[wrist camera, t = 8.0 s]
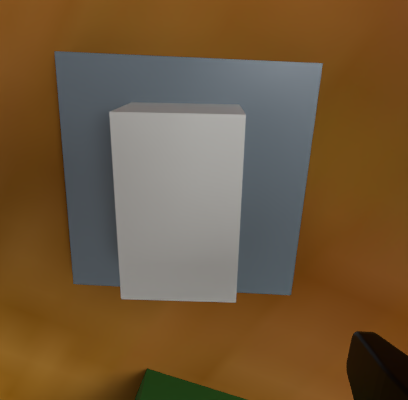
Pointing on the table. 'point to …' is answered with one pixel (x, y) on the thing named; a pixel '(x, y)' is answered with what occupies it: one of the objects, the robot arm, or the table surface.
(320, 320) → the table surface
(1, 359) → the table surface
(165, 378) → the green cereal box
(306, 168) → the baseplate
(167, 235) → the cream brick
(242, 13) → the table surface
